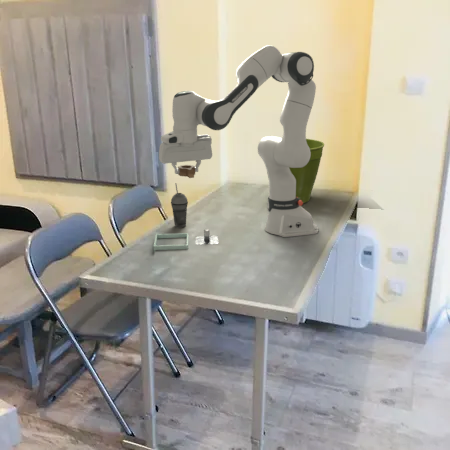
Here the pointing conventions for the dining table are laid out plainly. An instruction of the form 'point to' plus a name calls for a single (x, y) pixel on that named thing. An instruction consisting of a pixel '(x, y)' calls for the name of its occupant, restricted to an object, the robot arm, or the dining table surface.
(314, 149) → the plant pot
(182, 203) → the beverage cup
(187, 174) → the ring
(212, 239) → the stake
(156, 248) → the tray
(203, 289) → the dining table surface
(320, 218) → the dining table surface
